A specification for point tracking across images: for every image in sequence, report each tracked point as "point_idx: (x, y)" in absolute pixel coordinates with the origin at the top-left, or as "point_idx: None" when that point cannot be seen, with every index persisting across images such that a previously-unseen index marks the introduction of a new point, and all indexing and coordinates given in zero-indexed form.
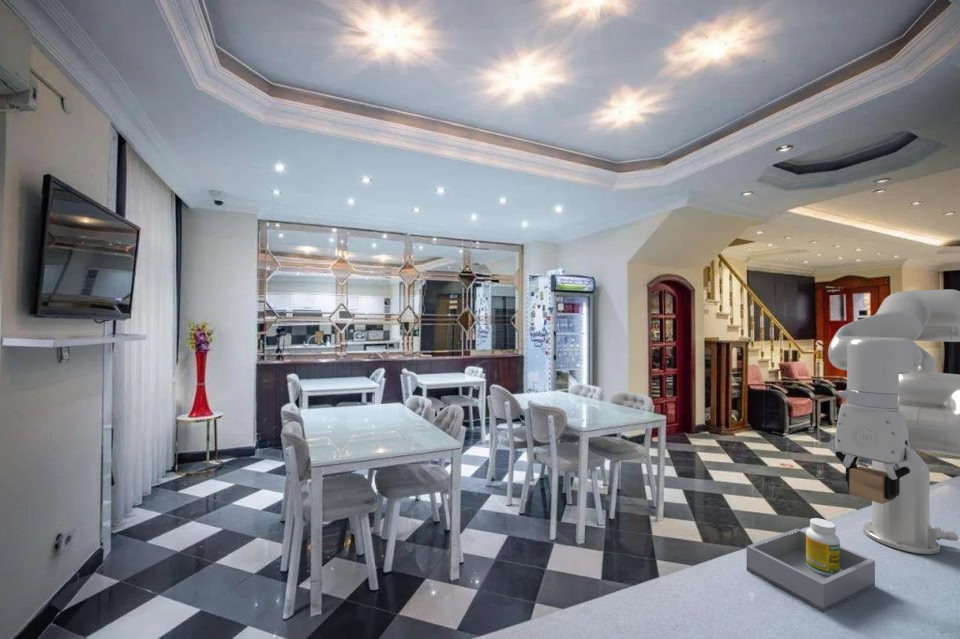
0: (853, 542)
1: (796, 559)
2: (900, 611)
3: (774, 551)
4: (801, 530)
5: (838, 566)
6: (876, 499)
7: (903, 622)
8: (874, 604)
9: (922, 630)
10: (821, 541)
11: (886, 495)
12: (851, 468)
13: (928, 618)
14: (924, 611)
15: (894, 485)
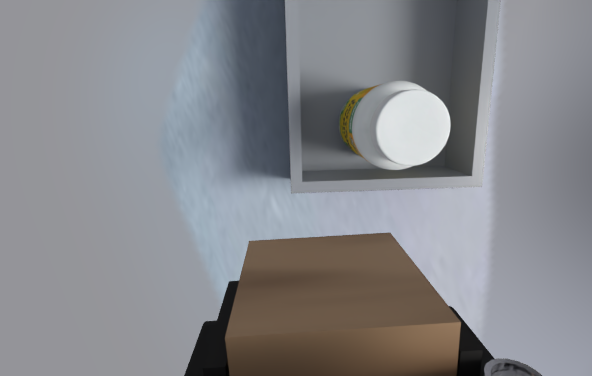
0: None
1: None
2: (222, 125)
3: (464, 49)
4: (469, 185)
5: (341, 127)
6: (271, 245)
7: (199, 85)
8: (255, 100)
9: (172, 92)
10: (381, 85)
11: (236, 287)
12: (465, 372)
13: (189, 152)
14: (205, 172)
15: (195, 359)
